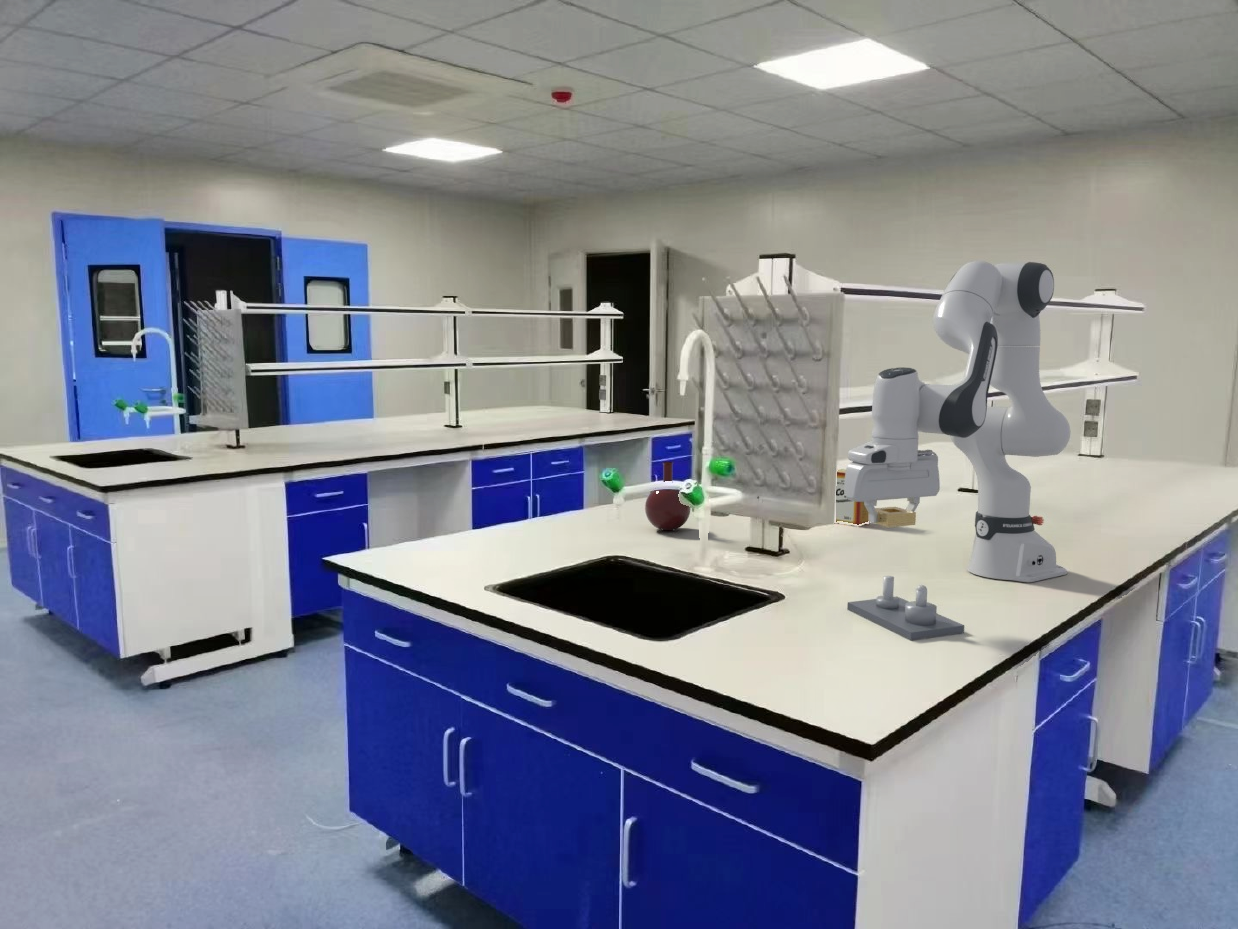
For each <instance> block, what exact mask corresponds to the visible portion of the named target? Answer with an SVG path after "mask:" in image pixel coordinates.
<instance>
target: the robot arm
mask: <svg viewBox="0 0 1238 929" xmlns="http://www.w3.org/2000/svg"><path fill="white" fill-rule="evenodd" d="M1054 278H1055V277H1054V274H1053V272H1052V270H1051V269H1050V268H1049V266H1047V265H1046V263H1042V262H1041V263H1040V262H1035V261H1034V262H1033V261H1032V262H1031V261H1028V262H1025V263H1024V262H1002V263H1001V262H999V263H997V264H992V263H990V262H989V261H988V262H987V261H983V260H973V261H969V262H967V263H965V264H963V265H962V266H961V267H960V268H959V269H958V271H957V272H955V274H954V275H953V276H952V277H951V279H950V281H949V282H948V284H947V286H946V288H945V290H944V291H943V293H942V295H941V297H940V299H939V301H938V303H937V305H936V307H935V310H934V312H933V316H932V317H933V318H932V324H933V328H934V331H935V333H936V335H937V336H938V338H939V339H940V340H942V342H944V343H945V344H946V345H947V346H949V347H951V348H952V349H955V350H958V351H961V352H963V353H965V354H968V357H967V362H966V365H965V366H966V367H965V370H964V374H963V379H962V381H960V382H958V383H955V384H954V383H953V384H949V385H948V384H930V383H925V382H923V381H922V380H920V379H919V374H918V373H919V372H918V371H917V370H916V369H915V368H912V367H891V368H887V369H884V370H882V371H880V372H879V373H878V374H877V375H876V379H875V382H874V388H873V393H872V405H871V406H872V408H871V416H872V419H873V426H872V430H871V435H870V440H869V441H868V442H866V443H863V444H861V445H859V446H856V447H854V448H851V449H850V450H848V452H847V459H848V461H851V462H849V464H847V466H846V469H845V470H846V473H845V482H844V494H845V496H846V498H847V499H848V500H851V501H855V502H863V501H864V505H865V507H866V509H867V511H868V513H869V521H870V522H869V523H871V524H876V523H879V522H880V521H881V519H880V518H881V514H879V513H877V512H876V510H875V508H876V507H877V505H878V501H886V500H887V501H888V500H898V499H899V500H900V499H906V502H908V504H907V506H906V510H909V511H913V512H916V511H917V508H918V506H919V505H920V504H921V503H920V501H921V500H920V499H921V498H926V497H937V495H938V494H939V492H940V488H941V487H940V484H941V483H940V471H939V466H938V465H939V456H938V455H937V453H936V452H934V451H933V450H932V449H923V450H921V449H919V433H921V432H922V433H926V434H927V433H928V434H939V435H946V436H950V439H951V442H952V444H953V445H954V446H955V447H956V448H957V449H959V451H960V452H962V454H964V455H965V456H966V457H967V458H968V460H969V461H970V463H971V465H972V466H973V469H974V471H975V475H976V480H977V494H978V495H977V501H978V502H977V511H976V512H975V516H974V527H975V534H974V540H973V545H972V550H971V555H970V559H969V562H968V565H967V567H966V570H967V571H968V572H969V573H971V574H974V575H977V576H980V577H984V578H987V579H988V578H989V579H996V580H1002V581H1003V580H1004V581H1005V580H1006V581H1016V582H1020V583H1021V582H1023V583H1034V582H1038V581H1043V580H1046V579H1053V578H1055V577H1060V576H1065V575H1067V574H1068V570H1067V569H1066V568H1065V567H1063V566H1062V565H1058V564H1057V552H1056V549H1055V547H1054V546H1053V544H1051V543H1050V542H1049V541H1047V540H1046V539H1045V538H1044V537H1043V536H1041V535H1040V534H1039V533H1038V532H1037V531H1036V530H1035V526H1034V525H1036V526H1042V525H1043V524H1044V523H1045V522H1044V521H1045V519H1044V517H1042V516H1038V515H1033V516H1032V515H1031V514H1030V504H1031V492H1032V491H1031V490H1032V486H1031V483H1030V481H1029V479H1028V478H1027V477H1026V476H1025V475H1024V474H1023V473H1021V472H1019V471H1018V470H1016V469H1015V468H1012V467H1011V466H1010V465H1009V463H1008V462H1007V460H1006V456H1021V457H1031V458H1032V457H1033V458H1034V457H1048V456H1049V457H1050V456H1055V455H1059V454H1060V453H1062V451H1063V450H1065V448H1066V447H1067V445H1068V444H1069V442H1070V438H1071V427H1070V423H1069V421H1068V420H1067V418H1066V416H1065V415H1064V414H1063V413H1062V412H1060V411H1059V410H1057V408H1056V407H1054V406H1053V404H1051V402H1050V401H1049V400H1048V398H1047V397H1046V395H1045V393H1044V391H1043V388H1042V384H1041V378H1040V356H1041V355H1040V352H1041V322H1040V313H1041V312H1042V311H1043V310H1045V308H1047V306H1048V305H1049V304H1050V302H1051V301H1052V299H1053V297H1054V296H1053V295H1054V290H1055V279H1054ZM990 386H991V387H993V388H994V389H996V390H998V391H999V392H1001V393H1003V394H1005V395H1006V396H1007V398H1009V400H1010V406H1009V407H1007V406H1005V407H1004V406H988V397H989V396H988V395H989V390H990ZM918 432H919V433H918Z"/></svg>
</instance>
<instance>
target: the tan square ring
mask: <svg viewBox="0 0 1238 929" xmlns="http://www.w3.org/2000/svg"><path fill="white" fill-rule="evenodd" d="M875 510H876V512H877V513H879V514H881V518H880V519H881V521H880V522H879V523H875V524H876V525H878V526H879V525H880V526H882V527H886V528H897V527H904V526H905V527H906V526H915V525H916V522H917V521H916V517H917V512H916V511H914V512H913V511H909V510H906V509H905V508H901V507H897V506H887V507H886V506H885V507H875ZM868 521H869V513H868ZM869 523H871V522H870V521H869Z"/></svg>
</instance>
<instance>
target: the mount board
mask: <svg viewBox="0 0 1238 929" xmlns="http://www.w3.org/2000/svg"><path fill="white" fill-rule="evenodd" d="M882 580H883V581H882V595H878V596H877V597H876V598H872V599H864V600H855V601H847V607H846V608H847V611H850V612H852V613H854V614H856V615H858V616H860V617H862V618H864V619H866V620H868V621H870V622H872V623H874V624H877V625H879V626H880V627H882V628H884V629H887V630H889V631H890V632H893V633H895V634H897V635H898V636H900V637H903V638H904V639H906V640H908V641H915V640H916V641H917V640H923V639H924V638H925V639H930V638H938V637H945V636H954V635H960V633H961V634H965V625H964V624H962V623H960V622H958V621H955V620H953V619H950V618H948V617H947V616H944V615H942V614H939V613H937V608H938V606H937V605H936V604H934V603H931V602H927V600H928V588H927V586H926V585H924V584H919V585H917V586H916V588H915V601H909V600H906V599H905V598H902V597H899V596H897V595H896V596H894V591H895V590H894V589H895V588H894V584H895V577H894V576H892V575H884V576H883V579H882Z"/></svg>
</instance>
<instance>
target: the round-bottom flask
mask: <svg viewBox="0 0 1238 929" xmlns="http://www.w3.org/2000/svg"><path fill="white" fill-rule="evenodd" d="M673 464H674V461H662V465H663V467H662V468H663V480H662V483H663V482H665V481H672V482H673ZM653 490H654V489H653ZM653 490H651V491H650V493H649V494H648V496H647V497H646V500H645V504H644V511H645V516H646V518H647V520H648V521H649V523H650V524H651V525H652V526H653V527H655V528H657V529H658V530H660V529H663V530H662V531H664V530H671V531H674V530H673V529H675V530H678V529H680V528H681V527H683V526H684V525H685V524H686V523H687V521H688V519H689V518H690V514H691V508H690V507H691V506H690V507H689V506H686V505H683V504H681V503H680V501H679V497H678V494H679V491H676V490H654V491H653Z"/></svg>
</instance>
